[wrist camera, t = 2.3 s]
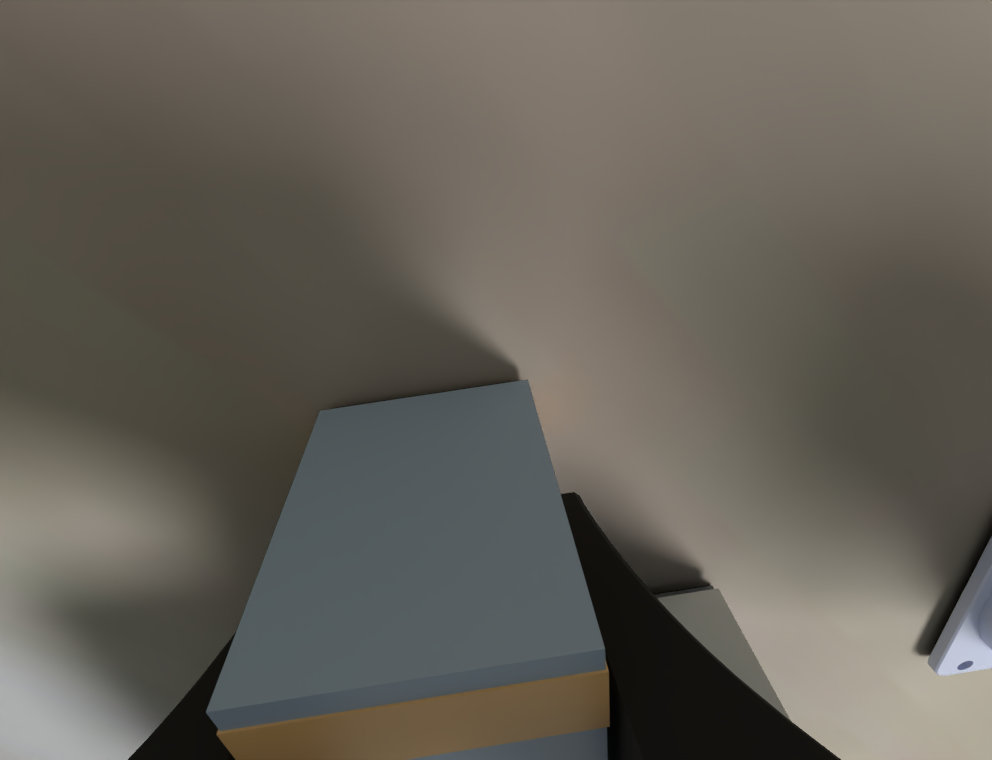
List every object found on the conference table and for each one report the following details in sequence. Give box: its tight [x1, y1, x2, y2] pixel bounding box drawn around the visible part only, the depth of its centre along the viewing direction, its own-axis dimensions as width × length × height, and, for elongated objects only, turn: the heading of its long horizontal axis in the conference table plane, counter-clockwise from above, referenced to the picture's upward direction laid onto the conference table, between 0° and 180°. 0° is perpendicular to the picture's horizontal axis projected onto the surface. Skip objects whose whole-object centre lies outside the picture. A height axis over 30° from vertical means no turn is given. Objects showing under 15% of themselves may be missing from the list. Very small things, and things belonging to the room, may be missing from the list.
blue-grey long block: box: [206, 380, 610, 760], centre depth 12 cm, size 4×14×6 cm, turn 7°
